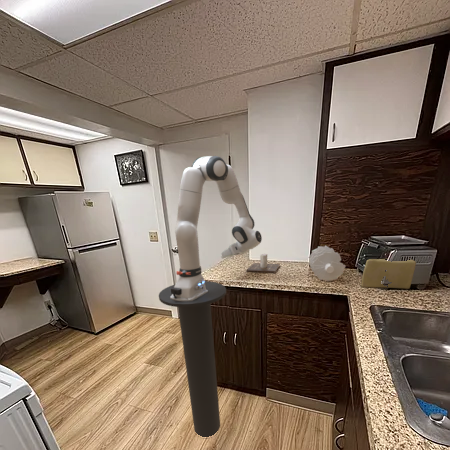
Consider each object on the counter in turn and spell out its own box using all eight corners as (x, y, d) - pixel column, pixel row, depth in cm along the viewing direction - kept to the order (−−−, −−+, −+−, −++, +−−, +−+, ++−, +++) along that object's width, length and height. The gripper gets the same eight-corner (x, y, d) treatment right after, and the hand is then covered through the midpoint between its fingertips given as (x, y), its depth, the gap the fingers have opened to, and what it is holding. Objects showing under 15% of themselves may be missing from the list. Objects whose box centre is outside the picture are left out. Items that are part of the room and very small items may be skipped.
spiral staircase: (319, 289, 146) (312, 274, 168) (350, 276, 140) (339, 263, 162) (308, 262, 140) (302, 251, 163) (339, 248, 135) (329, 239, 157)
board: (274, 273, 167) (274, 271, 167) (246, 271, 174) (246, 269, 173) (279, 266, 184) (279, 264, 184) (253, 265, 191) (253, 263, 191)
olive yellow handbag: (364, 289, 130) (369, 261, 125) (358, 283, 139) (362, 257, 134) (410, 289, 127) (417, 261, 121) (401, 283, 136) (407, 256, 130)
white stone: (260, 267, 177) (260, 255, 173) (260, 266, 181) (260, 253, 178) (267, 267, 176) (267, 255, 172) (267, 265, 180) (267, 253, 177)
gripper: (248, 240, 165) (234, 249, 175) (228, 245, 151) (214, 254, 160) (251, 249, 165) (237, 257, 175) (233, 254, 151) (218, 263, 161)
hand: (226, 256), depth 168 cm, fingers open, 8 cm apart
